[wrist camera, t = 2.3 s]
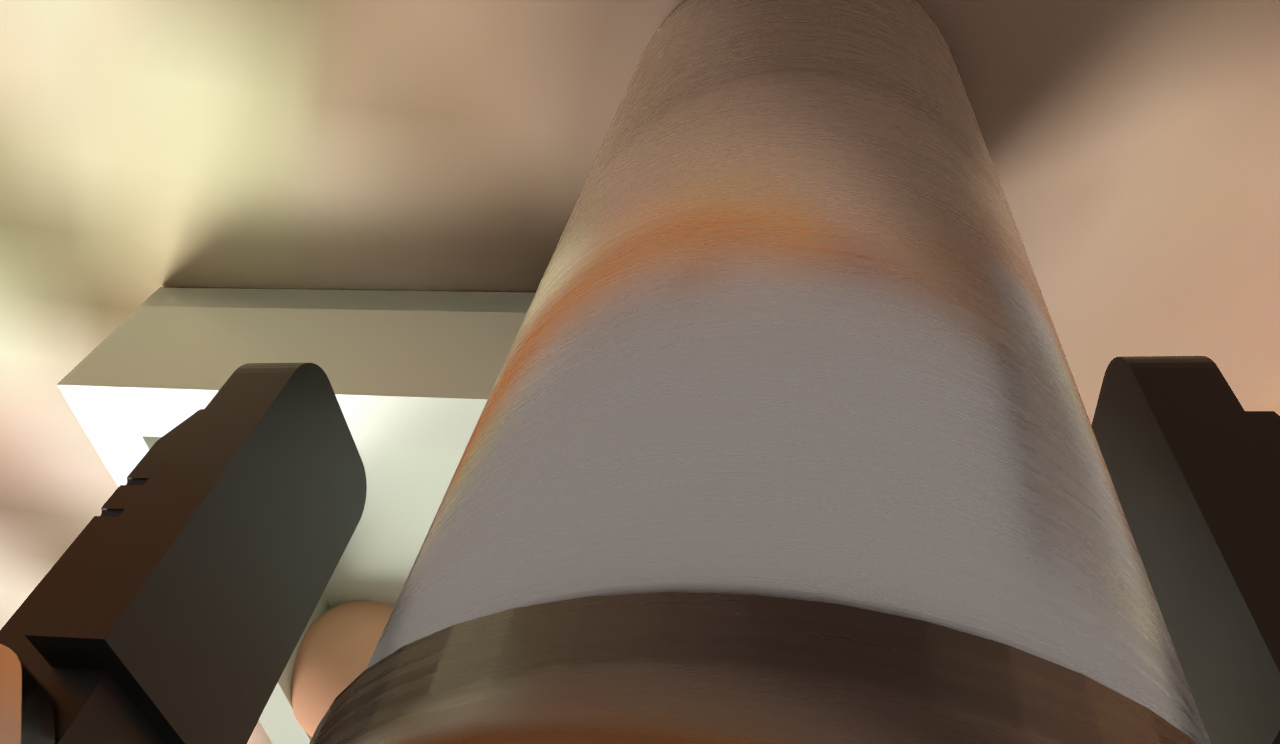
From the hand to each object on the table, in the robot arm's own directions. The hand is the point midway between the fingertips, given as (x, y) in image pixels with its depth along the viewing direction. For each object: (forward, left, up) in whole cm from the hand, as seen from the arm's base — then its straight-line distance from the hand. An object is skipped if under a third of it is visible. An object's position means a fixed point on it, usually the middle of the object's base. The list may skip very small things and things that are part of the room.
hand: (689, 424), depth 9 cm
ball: (+8, +11, -5) cm, 14 cm away
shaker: (-1, -1, -5) cm, 5 cm away
